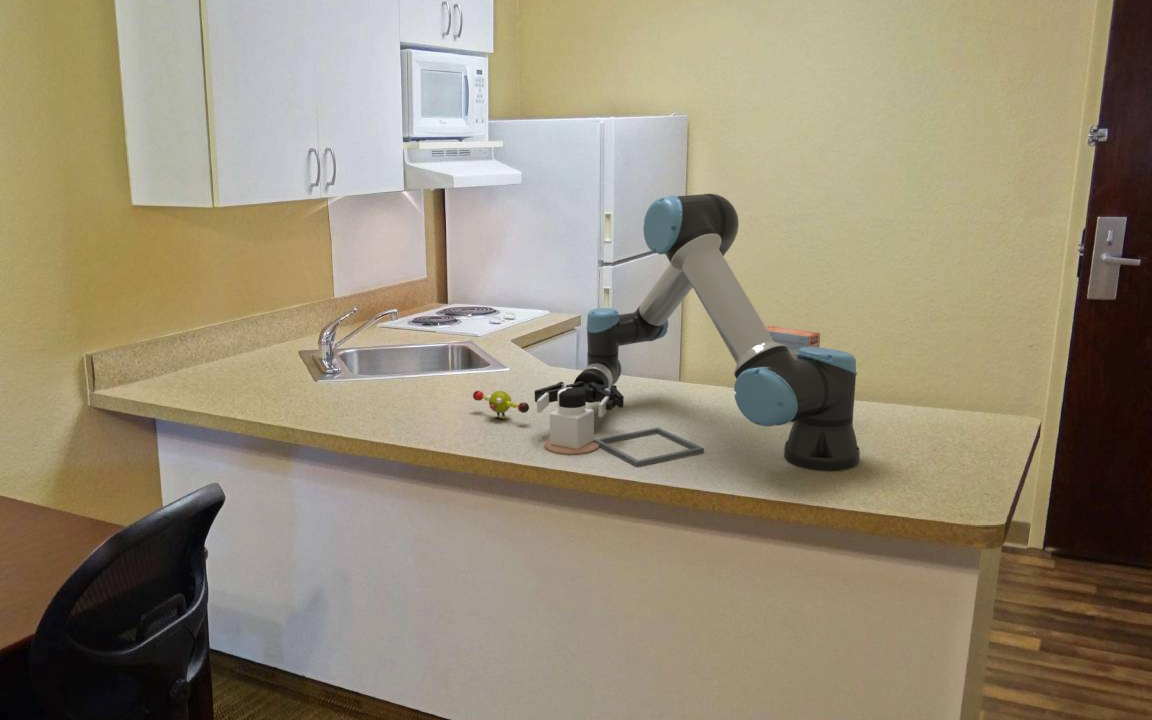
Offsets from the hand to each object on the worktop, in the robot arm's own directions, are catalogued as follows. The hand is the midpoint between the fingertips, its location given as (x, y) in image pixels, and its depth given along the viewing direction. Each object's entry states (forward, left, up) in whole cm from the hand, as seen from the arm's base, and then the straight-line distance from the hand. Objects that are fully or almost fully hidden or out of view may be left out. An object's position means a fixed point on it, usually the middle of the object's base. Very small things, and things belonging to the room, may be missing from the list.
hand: (569, 408), depth 204 cm
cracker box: (-6, -56, -9) cm, 57 cm away
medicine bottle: (+2, -2, -9) cm, 9 cm away
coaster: (+1, -2, -9) cm, 9 cm away
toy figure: (+27, +3, -9) cm, 29 cm away
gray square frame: (-9, -15, -9) cm, 19 cm away
